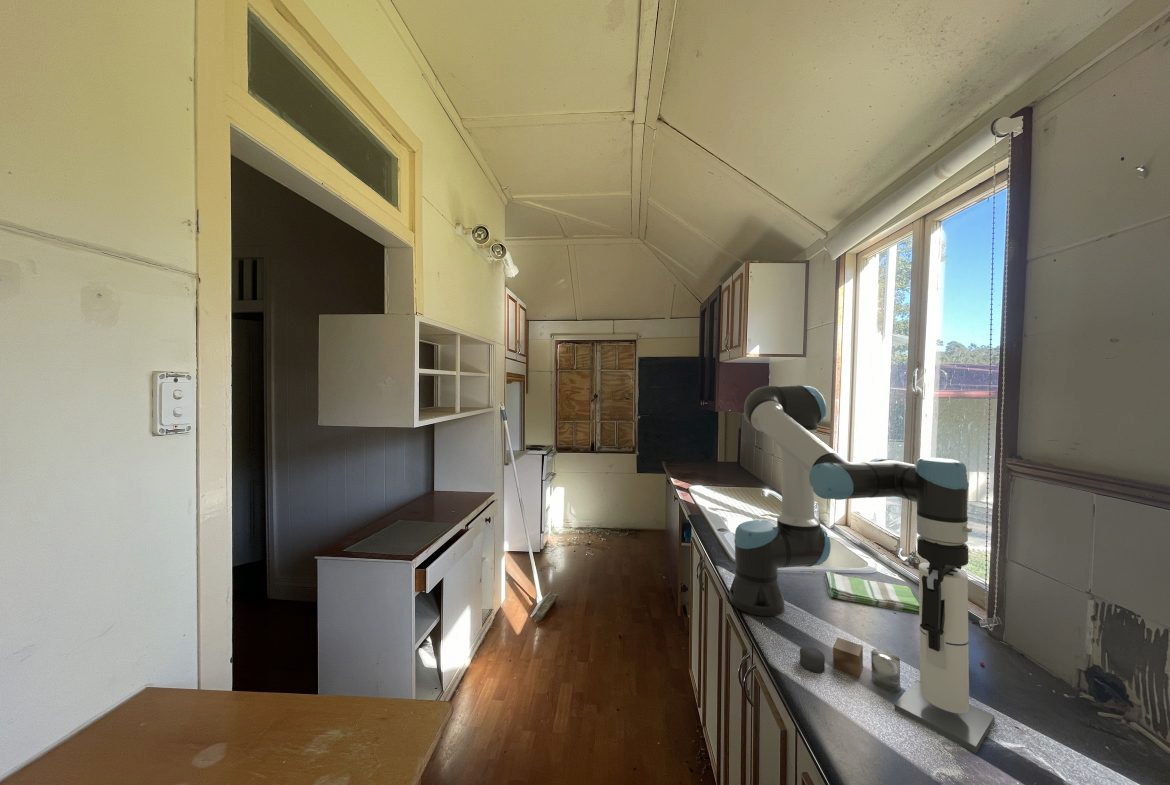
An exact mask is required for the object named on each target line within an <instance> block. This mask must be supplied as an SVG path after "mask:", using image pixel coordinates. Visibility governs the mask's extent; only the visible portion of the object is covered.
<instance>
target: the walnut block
mask: <svg viewBox="0 0 1170 785" xmlns="http://www.w3.org/2000/svg"><path fill="white" fill-rule="evenodd" d="M863 661H864V646H863V644H859V643H856V642H852V641H850V640H846V639H843V638H840V637H838V636H837V637H836V640H835V642H834V644H833V647H832V662H833V663H832V668H833V670H835V671H838V672H840V673H843V674H846V675H849V676H851V677H853V678H856V679H861V678H860V677H861V675H862V671H863V668H864V662H863Z"/></svg>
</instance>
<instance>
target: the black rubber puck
mask: <svg viewBox="0 0 1170 785" xmlns="http://www.w3.org/2000/svg"><path fill="white" fill-rule="evenodd" d="M825 657H826V656H825V654H824V652H822V651H821V650H819V649H817V648H814V647H811V646H803V647H801V648H800V649H799V665H800V667H801V666H802V669H804V670H805V671H807V672H809V673H812V674H823V673H825V669H826V665H825V664H826V663H825V662H826V661H825V660H826V659H825Z"/></svg>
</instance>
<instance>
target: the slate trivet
mask: <svg viewBox="0 0 1170 785" xmlns="http://www.w3.org/2000/svg"><path fill="white" fill-rule="evenodd" d="M893 708H894V711H896V712H897V713H900V714H901V715H903V716H905V717H907V718H909V719H910V720H912V721H915V722H916V723H918V724H920V725H922V726H924V727H926V728H927V729H929V730H931V731H932V732H935V733H937V734H939V735H941V736H942V737H944V738H946V739H948V740H949V741H952V742H954V743H955V744H957V745H959V746H960V747H961V746H962V747H963V748H965V749H967V750H968V751H970V752H973V753H975V754H977V752H978V751H979V749H980V747H981V746H982V744H983V742H984V741H985V739H986V737H987V735H988V734H989V732H990V731H991V729H992V727H993V725H994V724H995V717H996V716H995V714H992V713H990V712H988V711H986V710H983V709H982V708H980V707H977V706H975V705H972V704H971V703H969V711H968V712H966V713H953V712H949V711H946V710H943V709H941V708H938V707H936V706H935V705H933V704H931V703H930V702H928V701H927V700H926V699H925V698H924V697H923V696H922V694H921V692H920V679H916V680H915V681H914V682H913V683H912V684H911V686H909V688H907V689H906V690H905V692H904V693H903V694H902V695H901V696H900V697H899V698H898V700H896V702H894V707H893Z"/></svg>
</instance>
